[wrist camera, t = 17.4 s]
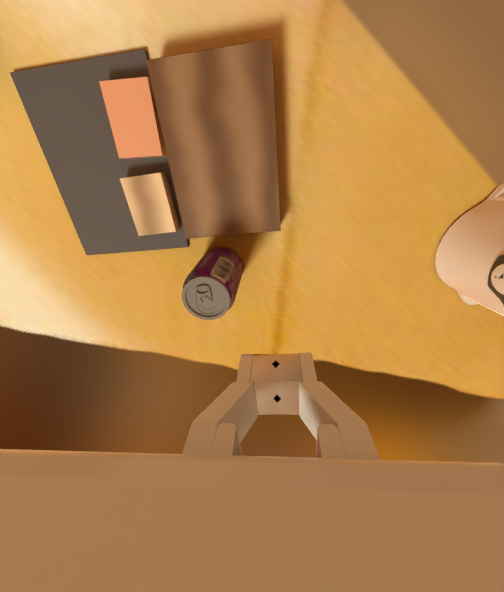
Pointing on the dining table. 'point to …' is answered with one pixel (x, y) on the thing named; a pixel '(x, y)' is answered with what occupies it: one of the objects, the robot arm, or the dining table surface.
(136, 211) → the tan rectangular block
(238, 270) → the beverage can
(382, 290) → the dining table surface
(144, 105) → the tilted orange prism
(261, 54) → the walnut board
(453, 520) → the robot arm
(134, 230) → the mat
